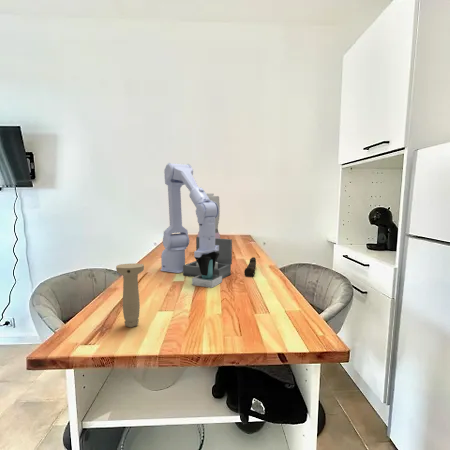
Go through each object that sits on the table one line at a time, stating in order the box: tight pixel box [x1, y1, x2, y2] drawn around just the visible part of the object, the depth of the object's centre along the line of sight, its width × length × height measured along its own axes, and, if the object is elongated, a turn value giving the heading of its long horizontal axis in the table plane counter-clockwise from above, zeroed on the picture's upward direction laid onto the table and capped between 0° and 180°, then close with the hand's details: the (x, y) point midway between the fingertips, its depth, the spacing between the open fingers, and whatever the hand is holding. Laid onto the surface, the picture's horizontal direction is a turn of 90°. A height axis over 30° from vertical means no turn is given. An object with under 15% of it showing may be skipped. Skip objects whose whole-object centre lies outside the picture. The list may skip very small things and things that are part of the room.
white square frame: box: [191, 274, 223, 289], centre depth 115 cm, size 8×8×2 cm
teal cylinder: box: [202, 259, 213, 280], centre depth 115 cm, size 4×4×7 cm
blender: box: [196, 192, 221, 239], centre depth 166 cm, size 16×12×32 cm
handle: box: [115, 263, 145, 328], centre depth 79 cm, size 5×6×15 cm
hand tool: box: [243, 257, 257, 278], centre depth 134 cm, size 19×4×5 cm, turn 167°
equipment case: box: [182, 236, 233, 280], centre depth 127 cm, size 16×11×14 cm
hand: (207, 273), depth 115 cm, fingers closed on teal cylinder, 4 cm apart
